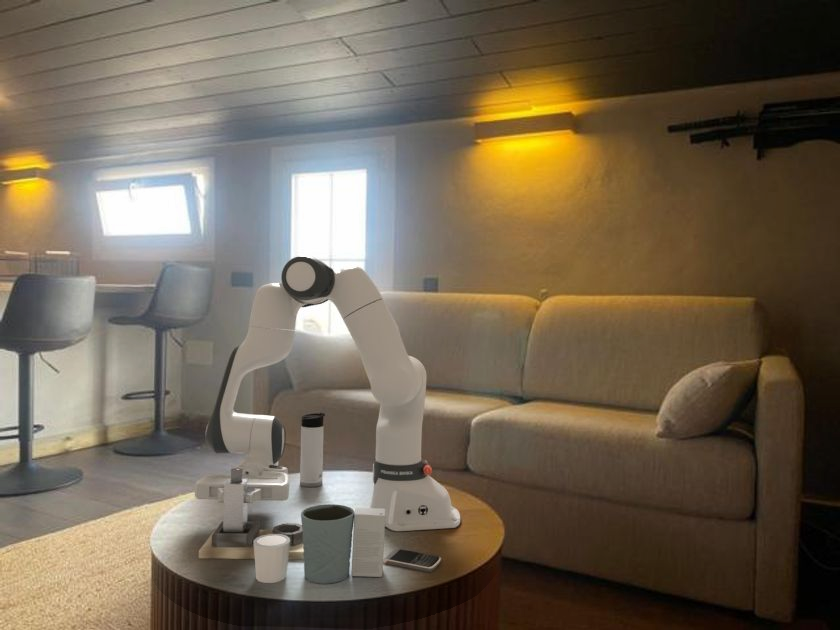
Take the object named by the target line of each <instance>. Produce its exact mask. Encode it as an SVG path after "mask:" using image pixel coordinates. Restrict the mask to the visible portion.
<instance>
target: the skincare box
mask: <svg viewBox="0 0 840 630" xmlns="http://www.w3.org/2000/svg"><path fill="white" fill-rule="evenodd" d="M385 528H386V527H385V509H374V508H370V507H355V510H354V523H353V531H352V550H351V554H352V555H351V556H352V557H351V570H350V571H351V573H350V574H351V576H352V577H368V578H369V577H370V578H371V577H372V578H374V577H375V578H382V577H383V569H384V563H383V559H384V555H385V553H384V552H385V551H384V550H385V533H386V532H385V531H386V529H385Z"/></svg>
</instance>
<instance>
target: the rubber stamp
mask: <svg viewBox="0 0 840 630" xmlns="http://www.w3.org/2000/svg"><path fill="white" fill-rule="evenodd" d="M230 475H231V479H230V478H229V479H228V481H227V482H226V483H225V484H224V502H223V518H222V521H223V532H243V531H244V529H245V528H246V526H247V522H248V508H249V507H248V506H249V505H248V504H249V503H245V494H246V493H248V479H242V477H243V469H241V468H236V467H235V468H231V469H230Z"/></svg>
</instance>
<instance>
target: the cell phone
mask: <svg viewBox="0 0 840 630" xmlns="http://www.w3.org/2000/svg"><path fill="white" fill-rule="evenodd" d="M441 561H442V558H441V557H440V556H438V555H433V554H428V553H423V552H417V551H413V550H406V549H402V548H394V549H393V551H391V552H390V553H389V554H388V555H387V556H386V557H383V564H385V565H389V566H390V565H391V566H395V567H401V568H404V569H405V568H406V569H410V570H411V569H412V570H416V571H422V572H426V573H431V572H433V571H434V570H436V569H437V567H439V565H440V563H441Z"/></svg>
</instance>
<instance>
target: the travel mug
mask: <svg viewBox="0 0 840 630" xmlns="http://www.w3.org/2000/svg"><path fill="white" fill-rule="evenodd" d="M325 416H326V414H325V413H324V412H320V413H308V414H304V415H302V416H301V421H300V422H301V424H300V425H301V428H300V466H299V469H300V470H299V471H300V473H299V478H300V479H299V484H300V486H301V487H304V488H305V487H306V488H316V487H320V486H322V484H323V477H324V476H323V470H324V469H323V468H324V465H323V464H324V463H323V462H324V427H325V426H324V421H325V420H324V417H325Z"/></svg>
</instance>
